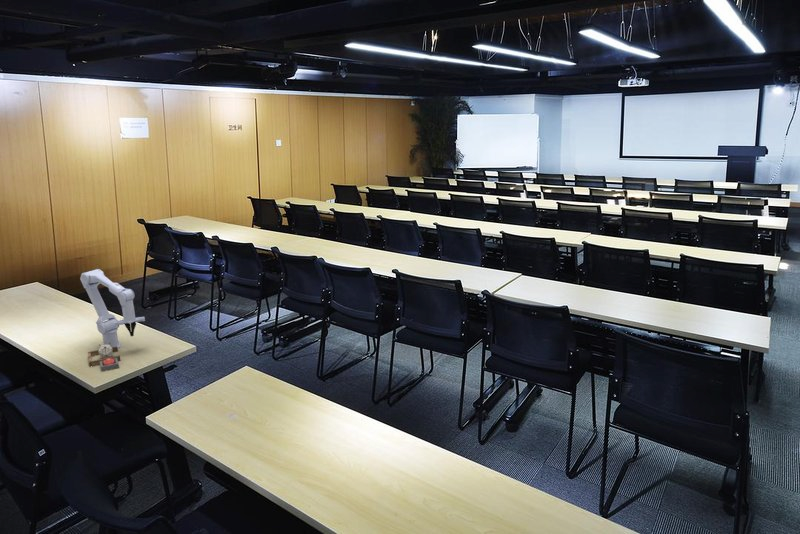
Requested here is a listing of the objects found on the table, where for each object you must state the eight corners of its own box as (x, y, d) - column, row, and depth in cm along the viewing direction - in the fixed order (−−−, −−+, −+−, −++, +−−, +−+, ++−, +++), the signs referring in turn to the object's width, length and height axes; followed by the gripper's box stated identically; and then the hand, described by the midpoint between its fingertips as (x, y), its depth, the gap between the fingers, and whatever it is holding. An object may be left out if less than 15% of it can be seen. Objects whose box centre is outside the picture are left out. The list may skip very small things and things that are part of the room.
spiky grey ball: (109, 365, 290) (107, 356, 283) (94, 360, 289) (91, 350, 282) (119, 352, 296) (117, 342, 289) (103, 346, 295) (101, 336, 288)
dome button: (103, 365, 281) (102, 357, 279) (114, 363, 283) (113, 355, 282) (104, 368, 276) (103, 361, 275) (115, 366, 279) (114, 359, 278)
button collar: (100, 365, 281) (99, 361, 281) (117, 362, 285) (117, 357, 285) (101, 371, 275) (100, 367, 274) (119, 367, 279) (118, 363, 278)
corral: (88, 356, 293) (87, 351, 292) (117, 350, 300) (117, 346, 299) (89, 366, 280) (89, 362, 279) (120, 360, 287) (119, 356, 286)
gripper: (114, 316, 285) (117, 340, 289) (144, 311, 292) (147, 335, 296) (112, 312, 291) (116, 336, 294) (142, 307, 298) (145, 331, 302)
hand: (132, 335), depth 295 cm, fingers closed
